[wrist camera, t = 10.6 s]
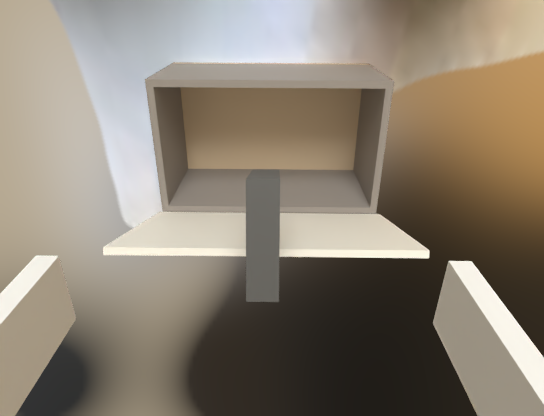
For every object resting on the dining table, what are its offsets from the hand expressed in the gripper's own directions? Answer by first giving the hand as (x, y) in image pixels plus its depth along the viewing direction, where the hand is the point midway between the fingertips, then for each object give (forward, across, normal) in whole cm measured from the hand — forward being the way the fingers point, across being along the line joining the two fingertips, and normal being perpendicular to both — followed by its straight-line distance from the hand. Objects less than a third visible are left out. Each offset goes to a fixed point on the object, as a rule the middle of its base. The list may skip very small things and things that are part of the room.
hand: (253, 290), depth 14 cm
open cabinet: (+32, 0, -3) cm, 33 cm away
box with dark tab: (+15, 0, -1) cm, 15 cm away
